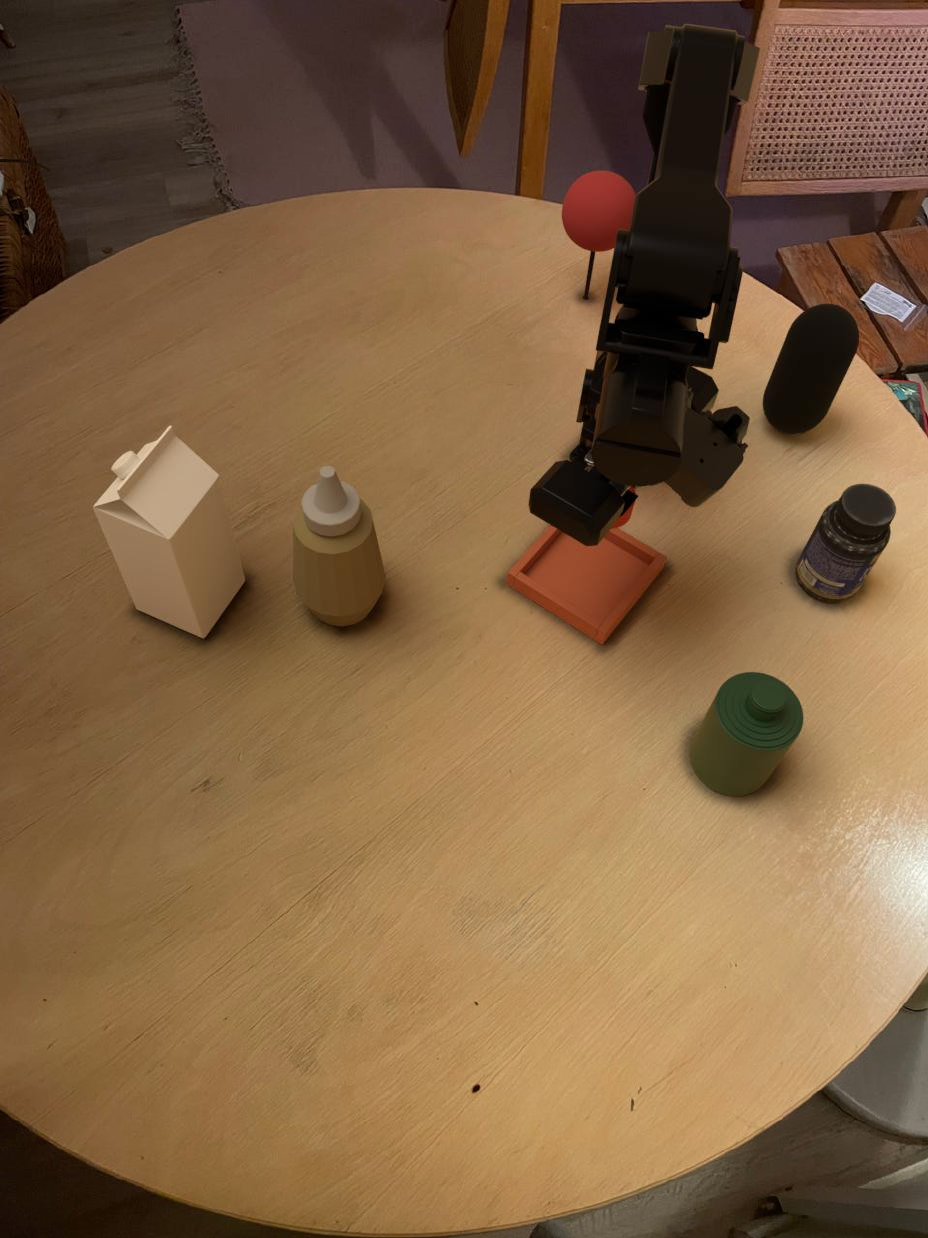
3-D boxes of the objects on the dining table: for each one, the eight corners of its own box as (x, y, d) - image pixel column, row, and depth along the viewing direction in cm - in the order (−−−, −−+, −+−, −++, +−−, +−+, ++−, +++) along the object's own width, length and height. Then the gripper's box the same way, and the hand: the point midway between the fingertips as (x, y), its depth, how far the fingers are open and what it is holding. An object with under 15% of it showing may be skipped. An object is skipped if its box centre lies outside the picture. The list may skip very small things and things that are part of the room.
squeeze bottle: (399, 578, 96) (395, 448, 80) (367, 649, 92) (356, 526, 76) (319, 553, 97) (300, 420, 82) (283, 622, 93) (256, 495, 78)
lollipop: (630, 290, 118) (655, 172, 105) (599, 329, 114) (622, 212, 102) (571, 265, 120) (588, 146, 107) (539, 303, 116) (553, 184, 103)
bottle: (674, 765, 87) (707, 701, 77) (714, 708, 90) (750, 639, 80) (745, 812, 85) (788, 752, 75) (784, 752, 88) (830, 687, 78)
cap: (575, 505, 87) (579, 488, 86) (610, 484, 89) (614, 468, 87) (605, 536, 86) (610, 520, 84) (641, 514, 87) (645, 498, 85)
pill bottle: (858, 610, 96) (906, 539, 86) (792, 597, 96) (832, 526, 87) (858, 557, 99) (904, 483, 90) (794, 545, 99) (833, 470, 90)
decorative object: (817, 453, 106) (872, 341, 93) (753, 443, 106) (799, 331, 94) (817, 406, 109) (869, 293, 97) (754, 397, 110) (799, 282, 97)
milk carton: (246, 580, 95) (211, 441, 79) (204, 640, 91) (158, 507, 75) (180, 552, 96) (132, 409, 80) (136, 610, 93) (76, 473, 77)
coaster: (506, 583, 96) (507, 572, 94) (569, 512, 101) (572, 500, 99) (602, 644, 93) (605, 633, 91) (663, 568, 97) (667, 556, 96)
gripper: (675, 515, 68) (633, 637, 81) (803, 354, 76) (746, 489, 89) (534, 434, 71) (516, 564, 84) (672, 288, 79) (636, 428, 92)
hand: (609, 511), depth 87 cm, fingers closed on cap, 4 cm apart
